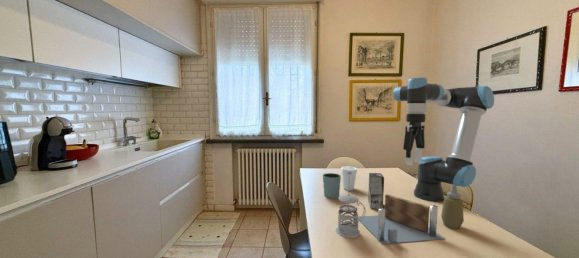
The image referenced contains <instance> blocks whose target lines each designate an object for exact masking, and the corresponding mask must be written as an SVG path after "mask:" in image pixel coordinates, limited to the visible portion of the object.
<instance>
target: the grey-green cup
mask: <svg viewBox="0 0 579 258" xmlns="http://www.w3.org/2000/svg"><path fill="white" fill-rule="evenodd" d="M341 179H342V174H338V173H334V172H328V173H324V174H322V182H323V196H324V197H325V198H327V199H338V197H339V196H340V189H341Z"/></svg>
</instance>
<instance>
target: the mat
mask: <svg viewBox="0 0 579 258" xmlns="http://www.w3.org/2000/svg"><path fill="white" fill-rule="evenodd" d="M361 216H362V215H361ZM361 216H358V218H359V219H358V220H360V219H362V218H363V217H364V218H363V219H362V220H360V221H359V222H360V223H361V224H362V225H363V226H364V227H365V229H366V230H368V231H369V233H370V234H371V235H372V236H374V237H375V239H377V237H378V215H376V214H375V215H365V216H364V215H363V216H362V217H361ZM360 217H361V218H360ZM391 228H396V229H397V242H390V243H389V242H388V229H391ZM429 228H430V226H428V232H424V231H422V230H419V229H416V228H413V227H411V226H408V225H405V224H403V223H400V222H397V221H394V220H392V219H389V218H386V217H385V232H384V241H379V243H380V244H381V245H391V244H393V245H394V244H403V243H404V244H405V243H416V242H417V243H418V242H427V241H438V240H446V237H445V236H443V235H441V234H439V233H438V232H437V231H436V236H435V237H434V236H430V235H429Z"/></svg>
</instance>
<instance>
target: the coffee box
mask: <svg viewBox="0 0 579 258" xmlns="http://www.w3.org/2000/svg"><path fill="white" fill-rule="evenodd" d="M384 191H385V177H384V175H383V174H382V173H380V172H377V173H376V172H369V173H368V205H369V209H377V210H378V209H379V208H383V209H384Z"/></svg>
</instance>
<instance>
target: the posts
mask: <svg viewBox="0 0 579 258" xmlns="http://www.w3.org/2000/svg"><path fill="white" fill-rule="evenodd" d="M438 209H439V207H438V205H435V204H431V205H430V208H429V235H430V236H434V237H435V236H436V232H437V230H438V229H437V228H438V227H437V226H438ZM377 210H378V213H377V214H378V237H377V238H376V239H377V241H378V242H380V241H384V232H385V208H384V207H383V208H379V209H377ZM388 242H389V243H390V242H397V229H396V228H391V229H388Z"/></svg>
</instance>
